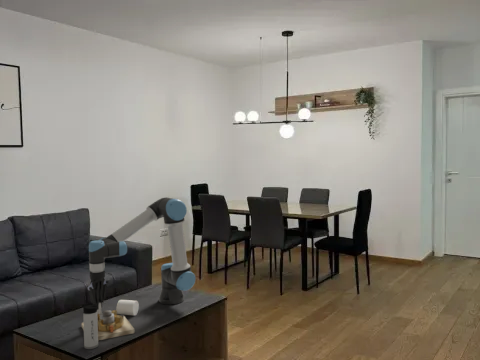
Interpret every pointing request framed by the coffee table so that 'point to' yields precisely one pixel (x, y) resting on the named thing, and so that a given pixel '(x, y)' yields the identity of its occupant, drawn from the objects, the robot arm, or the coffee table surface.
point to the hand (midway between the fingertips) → (98, 314)
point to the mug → (127, 307)
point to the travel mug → (90, 326)
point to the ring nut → (112, 326)
